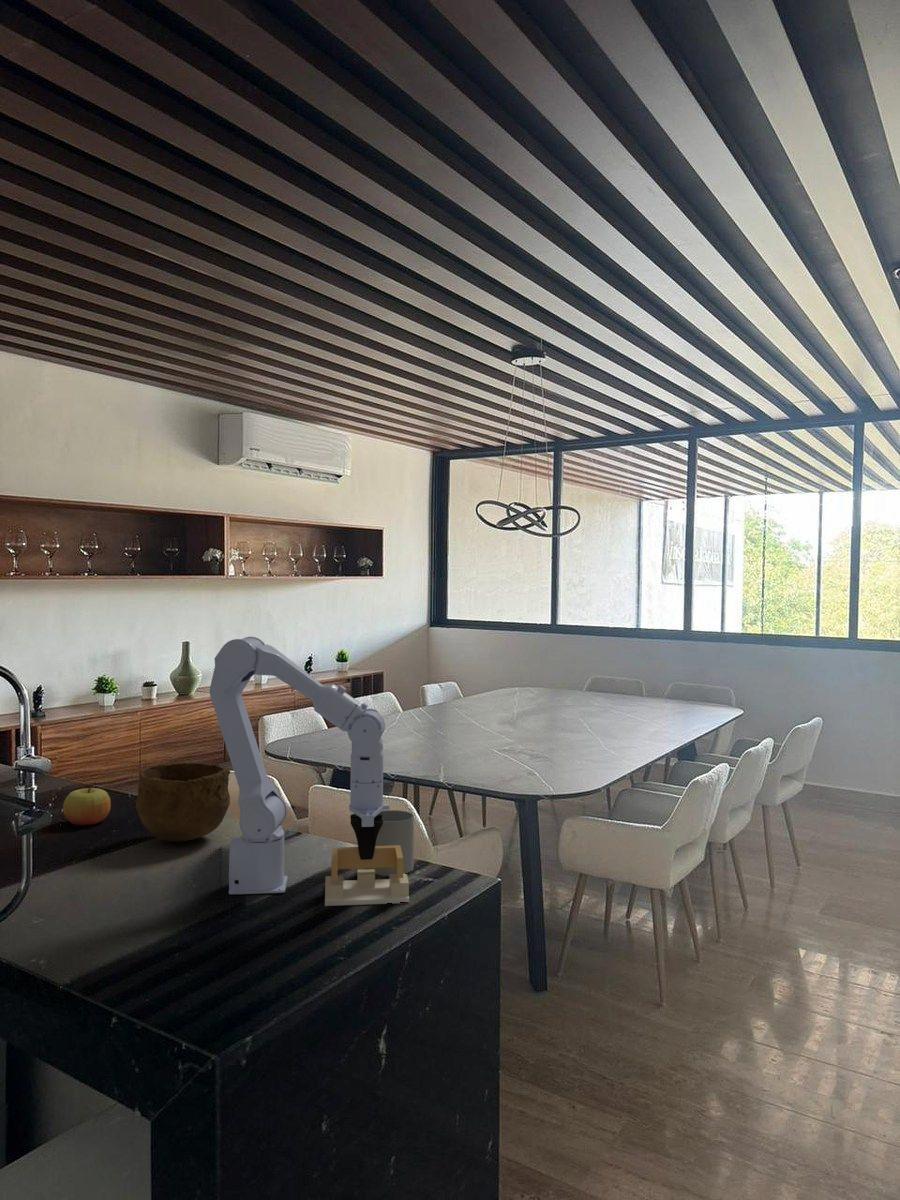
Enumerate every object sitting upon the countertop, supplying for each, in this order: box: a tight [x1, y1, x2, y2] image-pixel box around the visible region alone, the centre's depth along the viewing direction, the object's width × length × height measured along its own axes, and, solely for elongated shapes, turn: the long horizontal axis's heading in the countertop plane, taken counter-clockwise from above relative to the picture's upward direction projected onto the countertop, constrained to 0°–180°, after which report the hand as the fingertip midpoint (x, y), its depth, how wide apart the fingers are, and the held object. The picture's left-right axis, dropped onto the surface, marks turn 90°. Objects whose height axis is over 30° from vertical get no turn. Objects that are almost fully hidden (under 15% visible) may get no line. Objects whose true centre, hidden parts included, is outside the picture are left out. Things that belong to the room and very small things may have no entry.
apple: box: [62, 787, 112, 826], centre depth 194 cm, size 10×10×8 cm
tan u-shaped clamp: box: [330, 845, 403, 881], centre depth 149 cm, size 7×12×3 cm, turn 97°
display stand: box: [324, 868, 410, 907], centre depth 149 cm, size 10×14×3 cm
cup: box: [368, 809, 415, 877], centre depth 163 cm, size 8×8×10 cm
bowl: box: [135, 761, 231, 843], centre depth 181 cm, size 19×19×15 cm
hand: (366, 857), depth 151 cm, fingers closed on tan u-shaped clamp
